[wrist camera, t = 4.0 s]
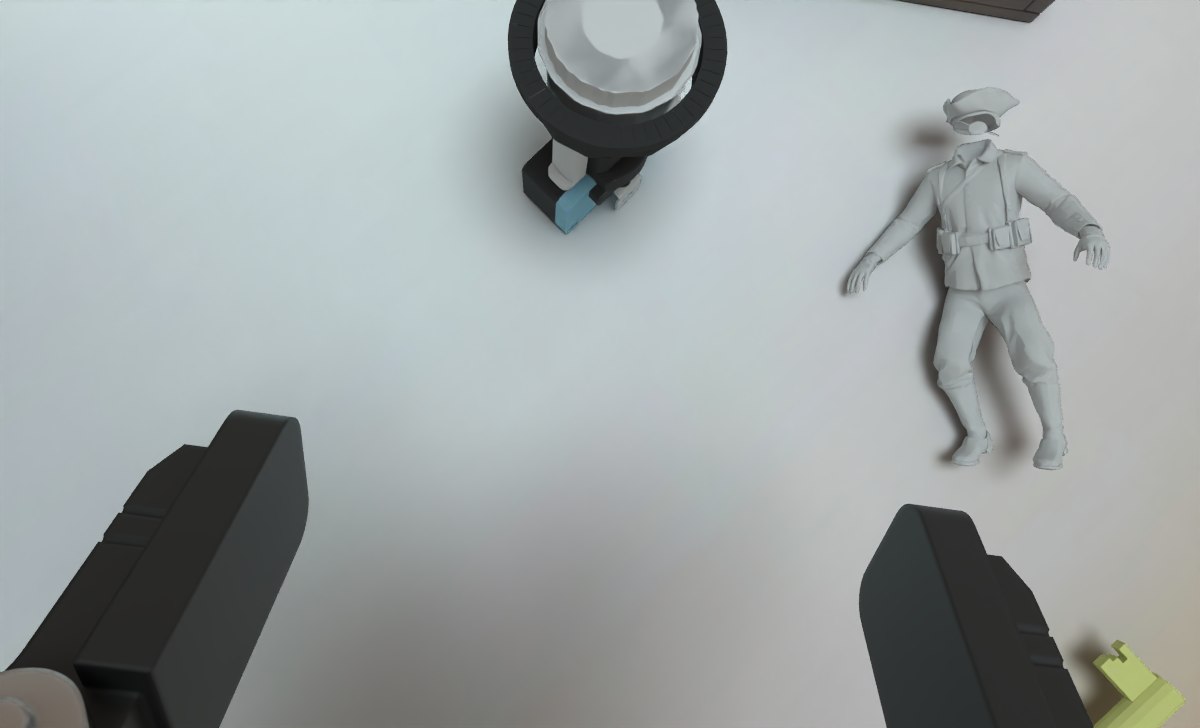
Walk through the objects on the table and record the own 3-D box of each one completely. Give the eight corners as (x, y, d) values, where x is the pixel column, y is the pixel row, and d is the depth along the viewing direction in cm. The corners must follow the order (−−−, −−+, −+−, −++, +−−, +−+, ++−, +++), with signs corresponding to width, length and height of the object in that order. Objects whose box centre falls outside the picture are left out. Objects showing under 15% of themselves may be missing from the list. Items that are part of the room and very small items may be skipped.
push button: (620, 49, 29) (660, -166, 19) (726, 151, 29) (821, -11, 19) (487, 171, 28) (457, 14, 18) (595, 278, 28) (624, 178, 18)
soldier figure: (864, 466, 29) (812, 125, 26) (907, 418, 32) (864, 114, 30) (1122, 480, 24) (1089, 60, 21) (1138, 421, 27) (1112, 58, 25)
